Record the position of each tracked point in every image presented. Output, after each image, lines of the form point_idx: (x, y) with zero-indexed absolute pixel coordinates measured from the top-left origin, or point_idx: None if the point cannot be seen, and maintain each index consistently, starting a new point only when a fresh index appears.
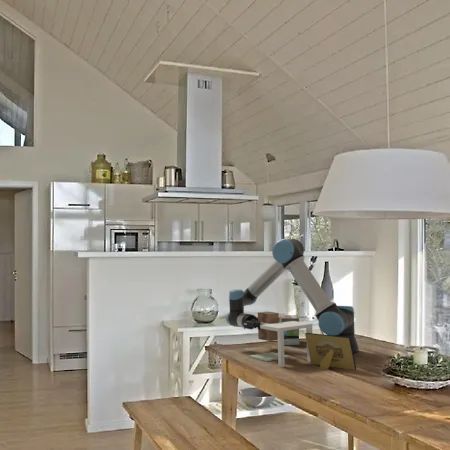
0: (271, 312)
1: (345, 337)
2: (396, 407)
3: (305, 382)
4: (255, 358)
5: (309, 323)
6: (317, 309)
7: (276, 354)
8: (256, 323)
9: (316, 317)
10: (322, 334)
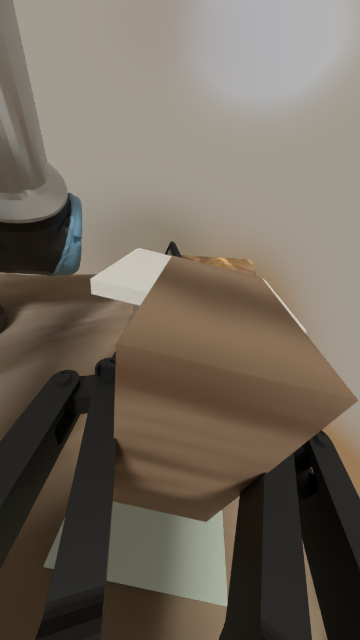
0: (185, 282)
1: (174, 244)
2: (228, 266)
3: None
4: (219, 512)
5: (134, 250)
6: (45, 186)
7: None
8: (288, 467)
9: (32, 228)
10: (178, 255)
